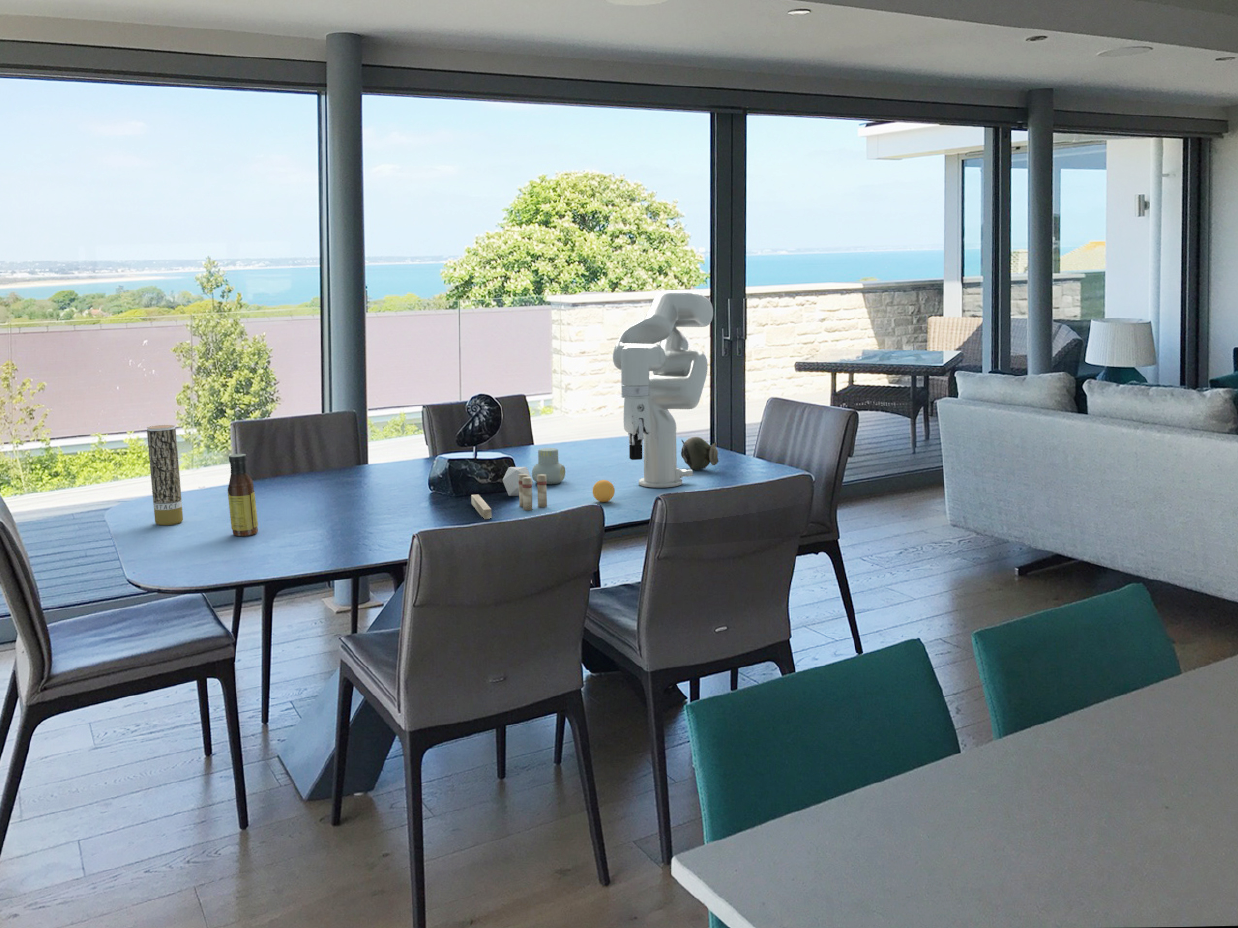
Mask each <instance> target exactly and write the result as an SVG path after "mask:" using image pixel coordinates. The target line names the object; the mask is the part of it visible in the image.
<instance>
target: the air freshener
mask: <svg viewBox="0 0 1238 928" xmlns="http://www.w3.org/2000/svg"><path fill="white" fill-rule="evenodd" d="M537 453H538V454H537V456H538V457H537V459H538V461H537V462H538V463H537V464H534V465H533V467H532V469H531V470H532V472H531V478H532V481H533V482H536V483H537V475H540V474H544V475H546V483H547V484H546V485H557V484H561V482H563V480H564V479H565V476H566V467H565V465H564V464H562V463H560V462H559V449H557V448H553V447H544V448H543V447H542V448H539V449H538V450H537Z"/></svg>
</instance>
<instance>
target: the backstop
mask: <svg viewBox="0 0 1238 928" xmlns="http://www.w3.org/2000/svg"><path fill="white" fill-rule="evenodd" d="M470 497H471V501H470V502H471V506H473V508H475V510H476V512H477V513H478V514H479V516H480V517H481V518H482V517H483V518H484V519H483V518H482V519H483V520H491V519H490V518H492V516H493V515H492V508H491V507H490V506H489V504H488V503H487V502H486V501H485V500H484V499H483V497H481V495H480V494H471V496H470Z"/></svg>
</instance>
